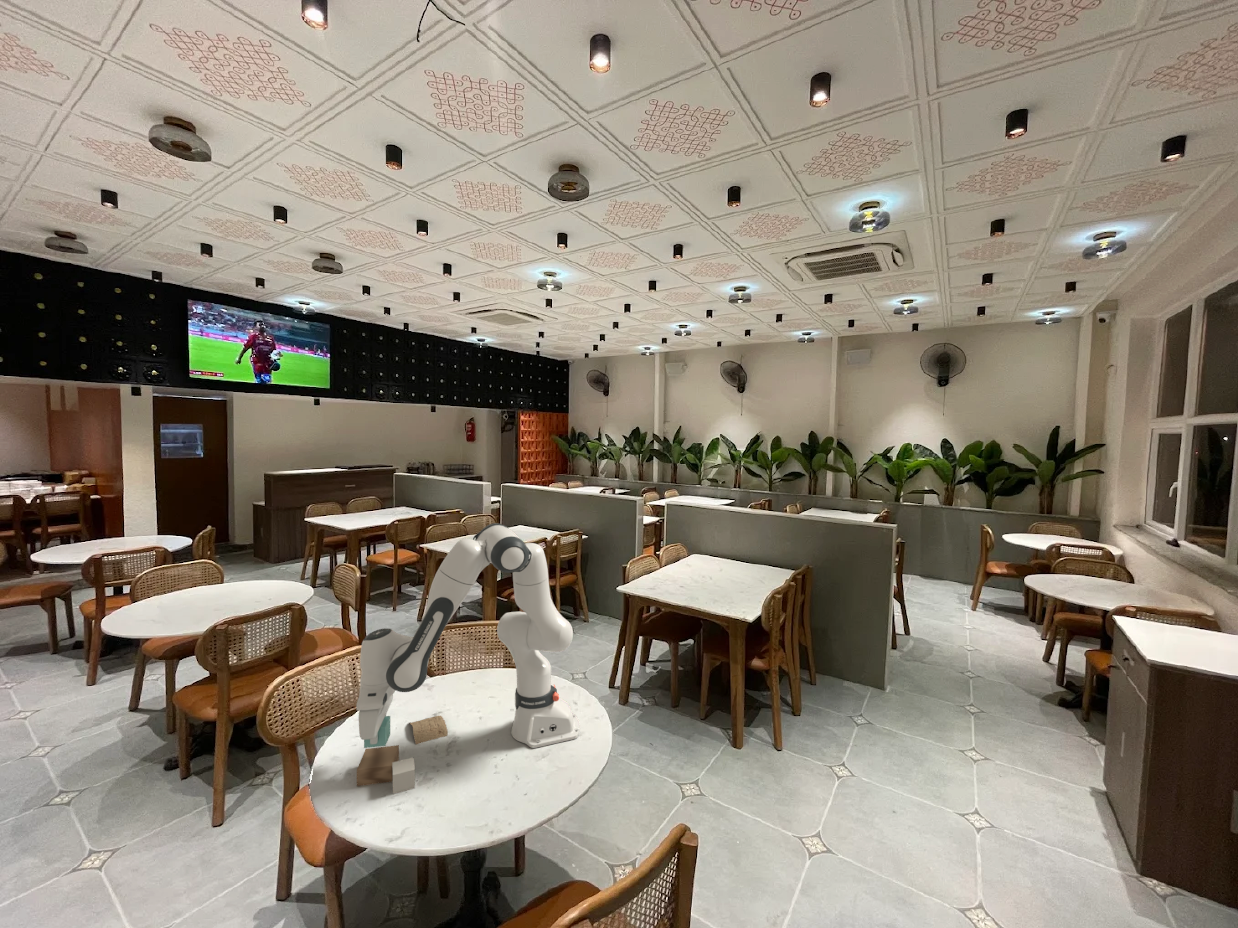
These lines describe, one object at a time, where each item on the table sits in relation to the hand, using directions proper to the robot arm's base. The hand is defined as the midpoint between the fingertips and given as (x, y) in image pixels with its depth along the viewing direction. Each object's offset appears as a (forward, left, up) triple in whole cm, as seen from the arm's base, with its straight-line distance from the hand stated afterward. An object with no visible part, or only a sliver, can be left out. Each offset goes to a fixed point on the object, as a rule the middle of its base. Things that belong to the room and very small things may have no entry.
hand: (377, 734), depth 138 cm
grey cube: (-8, +6, -12) cm, 15 cm away
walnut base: (0, 0, -12) cm, 12 cm away
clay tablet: (-10, -19, -12) cm, 25 cm away
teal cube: (0, 0, -2) cm, 2 cm away
